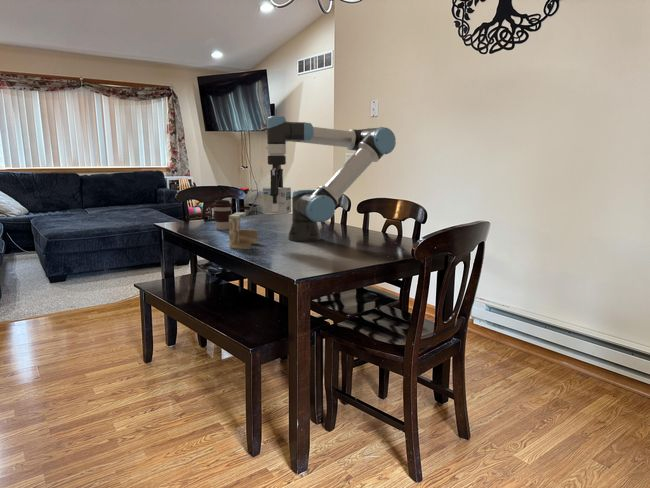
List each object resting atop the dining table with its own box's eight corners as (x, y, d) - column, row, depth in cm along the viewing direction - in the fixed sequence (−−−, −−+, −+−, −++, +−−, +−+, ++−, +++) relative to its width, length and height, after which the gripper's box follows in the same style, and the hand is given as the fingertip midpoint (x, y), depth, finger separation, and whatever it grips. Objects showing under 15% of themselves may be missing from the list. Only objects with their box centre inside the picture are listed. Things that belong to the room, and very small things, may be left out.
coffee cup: (209, 228, 238) (208, 200, 235) (226, 226, 245) (225, 199, 242) (219, 231, 231) (218, 201, 228) (236, 229, 237) (235, 200, 234)
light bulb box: (291, 212, 194) (291, 187, 192) (286, 214, 188) (286, 188, 186) (268, 211, 197) (267, 186, 195) (262, 213, 190) (262, 187, 188)
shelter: (237, 242, 203) (237, 212, 201) (257, 243, 202) (257, 212, 200) (229, 247, 192) (228, 215, 189) (250, 248, 191) (250, 216, 188)
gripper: (272, 154, 198) (273, 207, 202) (261, 155, 178) (263, 213, 183) (289, 154, 197) (290, 207, 201) (280, 155, 177) (281, 213, 182)
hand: (277, 210), depth 192 cm, fingers closed on light bulb box, 7 cm apart
